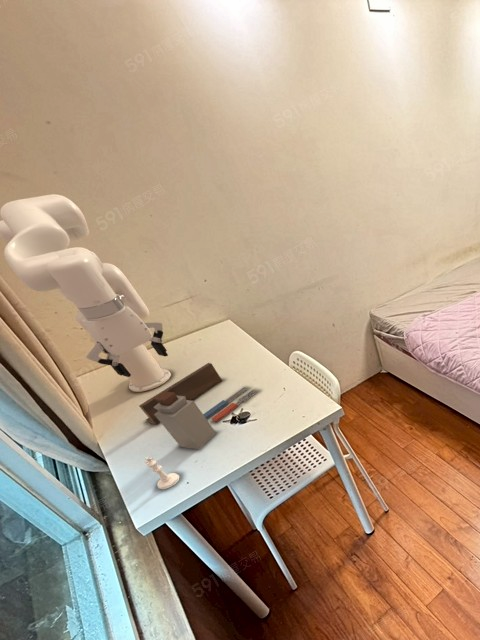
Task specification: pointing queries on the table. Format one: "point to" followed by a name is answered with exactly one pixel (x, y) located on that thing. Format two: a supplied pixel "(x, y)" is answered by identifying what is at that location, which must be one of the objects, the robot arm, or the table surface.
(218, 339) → the table surface
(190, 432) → the perfume bottle
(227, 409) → the fork
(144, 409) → the shelf
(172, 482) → the chess piece
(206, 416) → the knife
